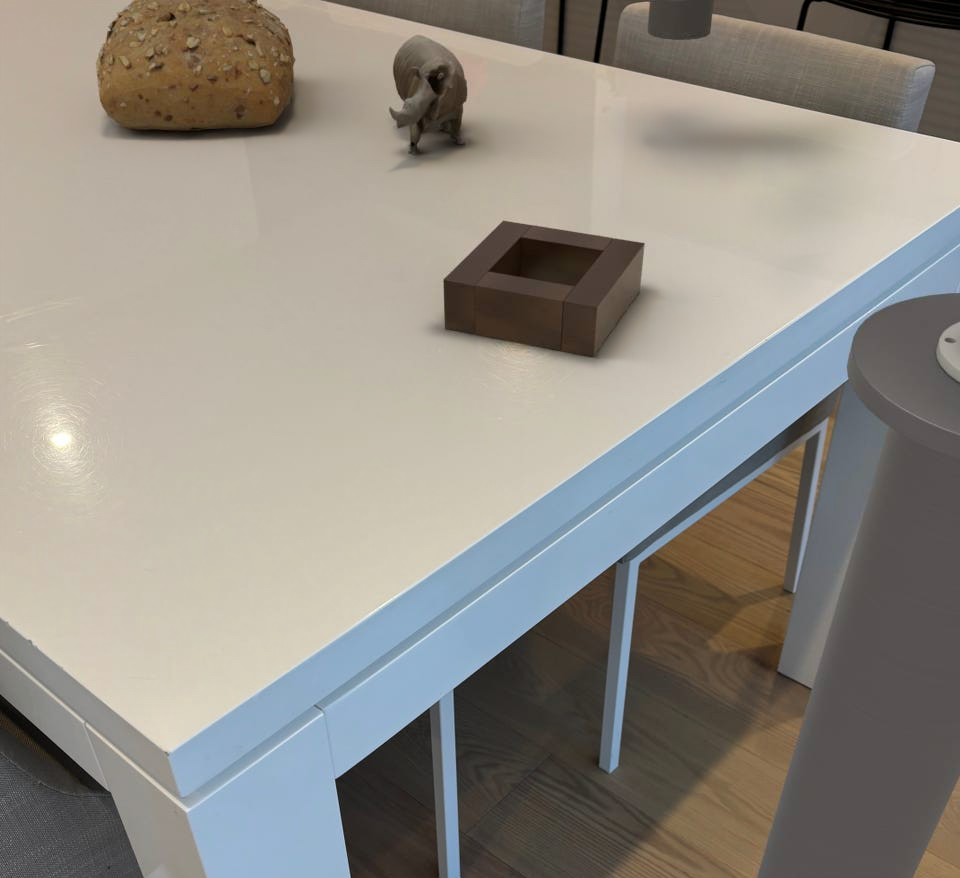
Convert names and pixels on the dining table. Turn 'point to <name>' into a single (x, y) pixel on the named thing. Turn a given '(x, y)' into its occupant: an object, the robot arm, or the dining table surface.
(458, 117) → the rhinoceros figurine
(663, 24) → the candle holder
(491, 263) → the square frame
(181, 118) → the bread
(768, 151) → the dining table surface
